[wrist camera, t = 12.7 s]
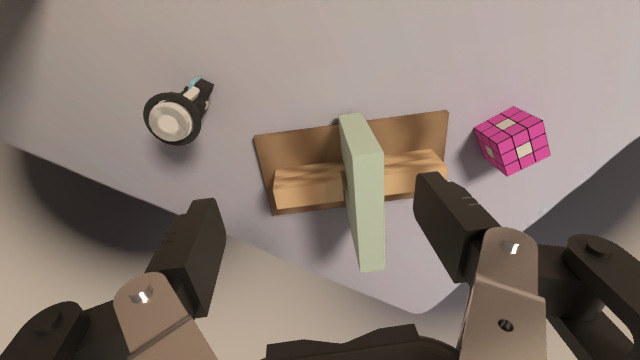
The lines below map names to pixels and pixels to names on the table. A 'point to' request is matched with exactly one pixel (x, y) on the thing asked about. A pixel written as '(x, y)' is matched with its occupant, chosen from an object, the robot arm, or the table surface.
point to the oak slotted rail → (328, 166)
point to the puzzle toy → (513, 140)
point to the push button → (178, 113)
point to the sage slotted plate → (364, 190)
